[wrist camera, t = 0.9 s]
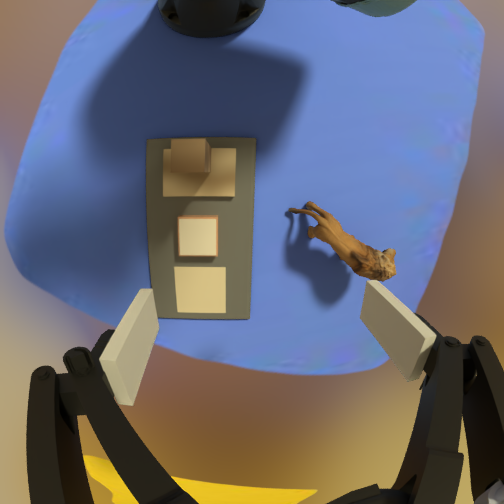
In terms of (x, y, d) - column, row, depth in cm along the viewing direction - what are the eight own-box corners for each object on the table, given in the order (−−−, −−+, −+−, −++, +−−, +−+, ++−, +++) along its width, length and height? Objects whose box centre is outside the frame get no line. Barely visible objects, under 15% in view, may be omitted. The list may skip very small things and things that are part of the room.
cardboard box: (164, 149, 32) (139, 141, 22) (235, 148, 33) (239, 139, 23) (164, 195, 34) (139, 207, 23) (234, 195, 35) (237, 206, 24)
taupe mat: (148, 139, 32) (146, 139, 31) (255, 138, 33) (256, 138, 33) (156, 315, 39) (155, 317, 38) (249, 316, 40) (249, 318, 40)
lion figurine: (376, 240, 39) (410, 259, 30) (359, 271, 40) (389, 295, 31) (296, 192, 36) (317, 199, 27) (277, 227, 37) (293, 244, 28)
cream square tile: (179, 215, 35) (177, 217, 33) (218, 215, 35) (217, 217, 33) (180, 252, 36) (178, 256, 34) (218, 252, 36) (217, 257, 35)
